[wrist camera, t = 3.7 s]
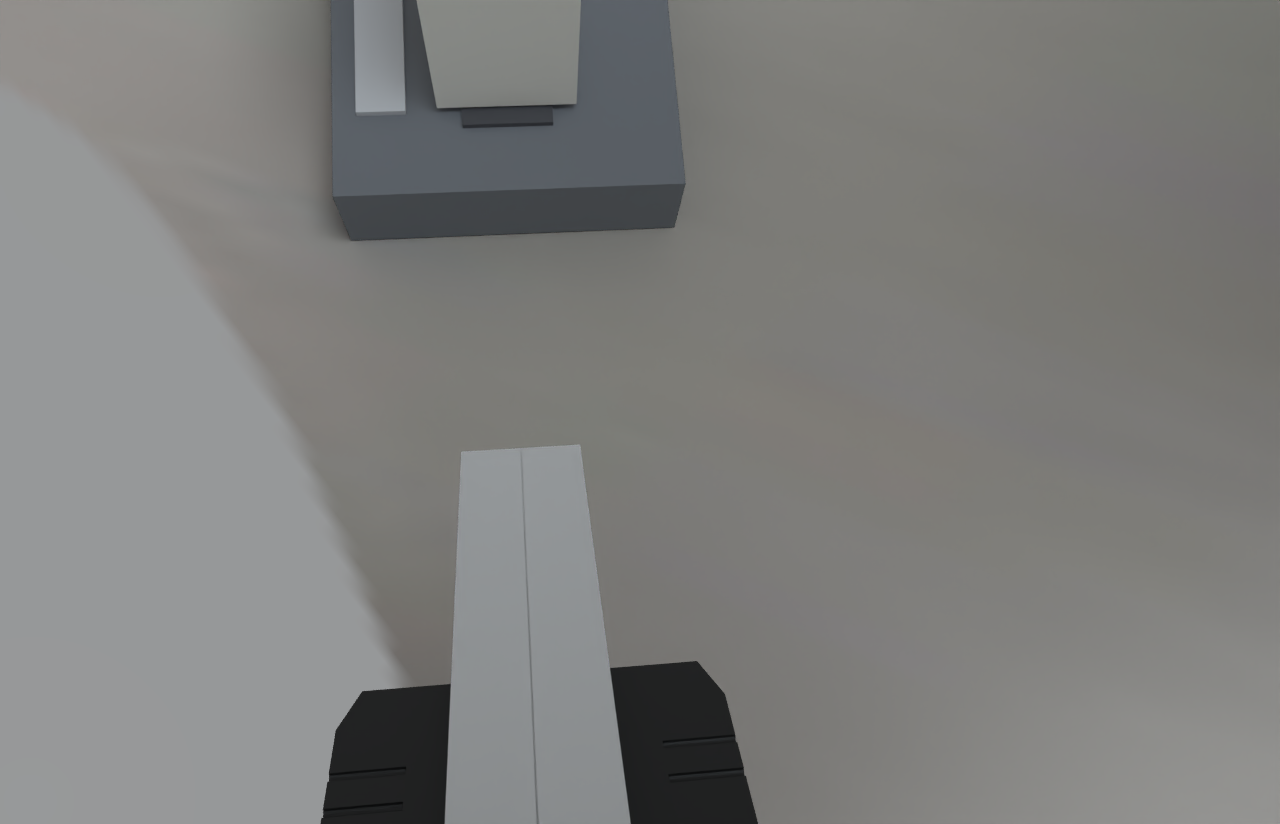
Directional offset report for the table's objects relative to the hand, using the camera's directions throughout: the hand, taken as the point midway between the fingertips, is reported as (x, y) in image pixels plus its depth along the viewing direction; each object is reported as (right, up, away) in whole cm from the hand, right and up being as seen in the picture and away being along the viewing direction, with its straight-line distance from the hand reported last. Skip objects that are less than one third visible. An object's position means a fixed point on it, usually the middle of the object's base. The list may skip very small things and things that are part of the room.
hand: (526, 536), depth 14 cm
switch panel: (-3, +16, +22) cm, 27 cm away
